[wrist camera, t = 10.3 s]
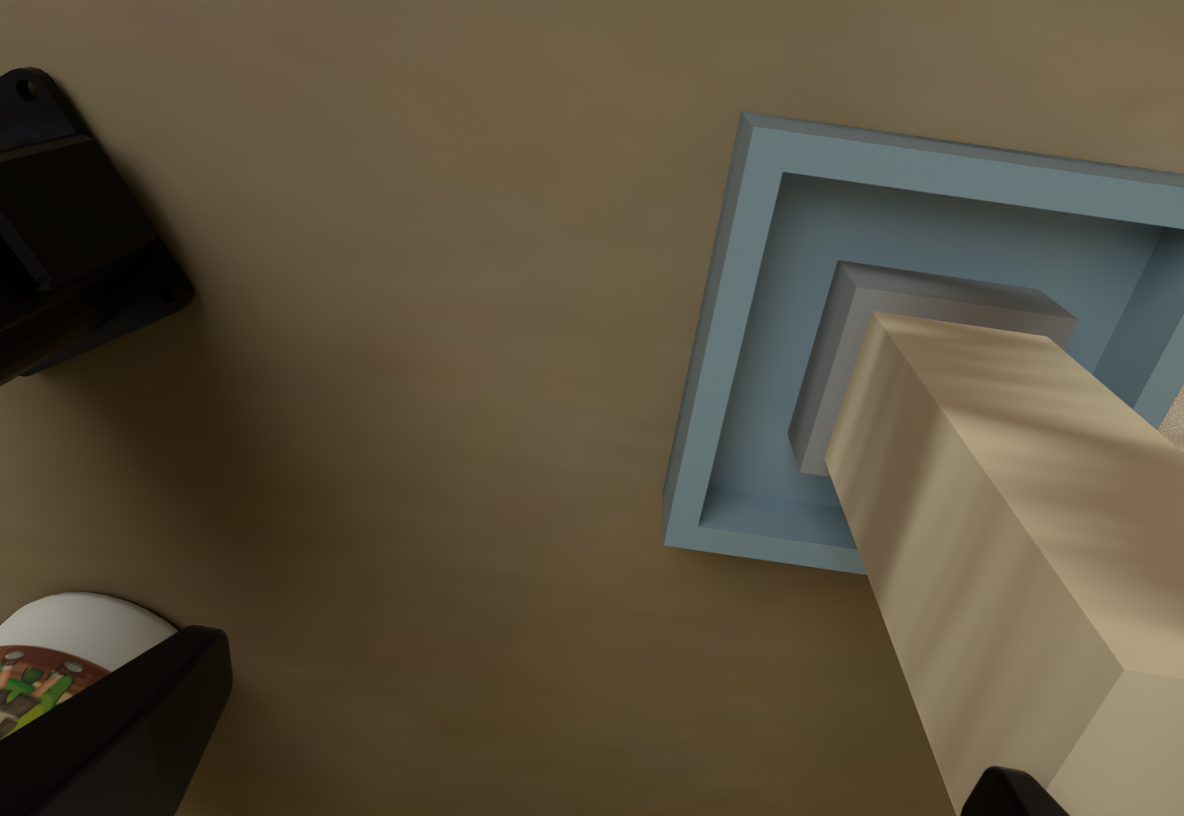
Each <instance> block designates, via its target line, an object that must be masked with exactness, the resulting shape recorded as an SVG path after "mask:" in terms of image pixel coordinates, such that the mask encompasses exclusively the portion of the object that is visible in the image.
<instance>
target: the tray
mask: <svg viewBox="0 0 1184 816" xmlns="http://www.w3.org/2000/svg"><path fill="white" fill-rule="evenodd" d="M838 260H841V261H848V262H855V263H862V264H869V265H876V266H882V267H889V268H896V269H903V270H910V271H917V272H923V273H930V274H937V275H944V276H951V277H957V278H964V279H971V280H978V281H985V282H992V283H998V284H1005V285H1012V286H1019V287H1026V288H1033V289H1039V290H1040V291H1042V292H1043V293H1044V294H1046V295H1047V296H1048V297H1050V298H1051V299H1052V300H1054V301H1055V302H1056V303H1058V304H1059V305H1060V306H1062V307H1063V308H1064V309H1066V310H1067V311H1068V312H1070V313H1071V314H1072V315H1074V316H1075V317H1076V318H1078V319H1079V320H1078V322H1077V324H1076V326H1075V328H1074V331H1073V333H1072V335H1071V337H1070V339H1069V341H1068V343H1067V345H1066V348H1065V350H1064V351H1065V352H1066V353H1067V354H1068V355H1069V356H1071V357H1072V358H1073V359H1074V360H1075V361H1076V362H1078V363H1079V364H1080V365H1081V366H1082V367H1083V368H1085V369H1086V370H1087V371H1088V372H1089V373H1090V374H1092V375H1093V376H1094V377H1095V378H1096V379H1098V380H1099V381H1100V382H1101V383H1102V384H1103V385H1105V386H1106V387H1107V388H1108V389H1109V390H1110V391H1112V392H1113V393H1114V394H1115V395H1116V396H1117V397H1119V398H1120V399H1121V400H1122V401H1123V402H1124V403H1126V404H1127V405H1128V406H1129V407H1130V408H1131V409H1133V410H1134V411H1135V412H1136V413H1137V414H1138V415H1140V416H1141V417H1142V418H1143V419H1144V420H1145V421H1147V422H1148V423H1149V424H1150V425H1151V426H1153V427H1154V428H1155V429H1156V430H1158V428H1159V427H1160V425H1161V423H1162V421H1163V419H1164V418H1165V416H1166V414H1167V412H1168V410H1169V409H1170V407H1171V405H1172V403H1173V401H1174V400H1175V398H1176V396H1177V394H1178V393H1179V391H1180V389H1181V387H1182V385H1183V384H1184V174H1178V173H1171V172H1164V171H1157V170H1150V169H1143V168H1136V167H1129V166H1122V165H1115V164H1108V163H1101V162H1094V161H1087V160H1080V159H1073V158H1066V157H1059V156H1052V155H1045V154H1038V153H1031V152H1024V151H1017V150H1010V149H1003V148H996V147H989V146H982V145H975V144H968V143H961V142H954V141H947V140H940V139H933V138H926V137H919V136H912V135H905V134H898V133H891V132H884V131H877V130H870V129H863V128H856V127H849V126H842V125H835V124H828V123H821V122H814V121H807V120H800V119H793V118H786V117H779V116H772V115H765V114H758V113H751V112H744V111H741V116H740V121H739V126H738V131H737V135H736V140H735V145H734V150H733V155H732V160H731V165H730V169H729V174H728V179H727V184H726V189H725V194H724V199H723V203H722V208H721V213H720V218H719V223H718V228H717V233H716V237H715V242H714V247H713V252H712V257H711V262H710V267H709V271H708V276H707V281H706V286H705V291H704V296H703V301H702V306H701V310H700V315H699V320H698V325H697V330H696V335H695V340H694V344H693V349H692V354H691V359H690V364H689V369H688V374H687V378H686V383H685V388H684V393H683V398H682V403H681V408H680V412H679V417H678V422H677V427H676V432H675V437H674V442H673V446H672V451H671V456H670V461H669V466H668V471H667V476H666V480H665V485H664V490H663V536H664V546H671V547H677V548H684V549H691V550H698V551H705V552H712V553H719V554H726V555H732V556H739V557H746V558H753V559H760V560H767V561H774V562H781V563H787V564H794V565H801V566H808V567H815V568H822V569H829V570H836V571H843V572H849V573H856V574H863V575H867V573H866V571H865V568H864V565H863V562H862V560H861V557H860V554H859V552H858V549H857V546H856V544H855V541H854V538H853V535H852V533H851V530H850V527H849V525H848V522H847V519H846V517H845V514H844V511H843V508H842V506H841V503H840V500H839V498H838V495H837V492H836V490H835V487H834V484H833V481H832V479H831V477H827V476H820V475H813V474H807V473H800V472H799V470H798V466H797V463H796V460H795V457H794V453H793V450H792V447H791V444H790V440H789V437H788V434H787V432H788V429H789V426H790V422H791V419H792V415H793V412H794V408H795V405H796V402H797V398H798V395H799V391H800V388H801V384H802V381H803V378H804V374H805V371H806V367H807V364H808V360H809V357H810V354H811V350H812V347H813V343H814V340H815V336H816V333H817V330H818V326H819V323H820V319H821V316H822V312H823V309H824V306H825V302H826V299H827V295H828V292H829V288H830V285H831V282H832V278H833V275H834V271H835V268H836V264H837V261H838Z"/></svg>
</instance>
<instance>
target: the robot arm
mask: <svg viewBox="0 0 1184 816" xmlns="http://www.w3.org/2000/svg"><path fill="white" fill-rule="evenodd" d="M28 82H31V83H32V84H33V85H34V86H35V89H36V91H37V99H36V98H34V97H33V96H32V95H31V93H30V91H29V89H28ZM167 286H170V287H172V288H173V289H174V290H175V291H176V293H177V298H175V297H173V296H172V295H171V294H170V293H169V292H168V289H167ZM193 298H194V289H193V287H192V285H191V283H190V281H189V280H188V278H187V277H186V275H185V274H184V272H183V271H182V269H181V268H180V266H179V265H178V264H177V262H176V261H175V259H174V258H173V256H172V255H171V253H170V252H169V250H168V249H167V247H166V246H165V244H164V243H163V241H162V240H161V238H160V237H159V235H158V234H157V233H156V231H155V228H154V226H153V225H152V223H151V222H150V220H149V219H148V217H147V216H146V215H145V213H144V212H143V210H142V209H141V207H140V206H139V204H138V203H137V201H136V200H135V198H134V197H133V195H132V194H131V192H130V191H129V189H128V188H127V186H126V185H125V183H124V182H123V181H122V179H121V178H120V176H119V175H118V173H117V172H116V170H115V169H114V167H113V166H112V164H111V163H110V161H109V160H108V158H107V157H106V155H105V154H104V152H103V151H102V149H101V148H100V147H99V145H98V144H97V142H96V141H94V140H93V138H92V137H91V135H90V134H89V132H88V131H87V129H86V128H85V126H84V125H83V123H82V122H81V120H80V119H79V117H78V116H77V114H76V113H75V111H74V110H73V109H72V107H71V106H70V104H69V103H68V101H67V100H66V98H65V97H64V95H63V94H62V92H61V91H60V89H59V88H58V86H57V85H56V83H55V82H54V81H53V79H52V78H51V77H50V76H49V75H48V74H47V73H45V72H44V71H42V70H41V69H38V68H34V67H26V68H18V69H14V70H11V71H9V72H8V73H6V74H4V75H2V76H1V77H0V386H2V385H4V384H5V383H7V382H9V381H10V380H12V379H14V378H15V377H17V376H24V377H25V376H30V375H32V374H35V373H37V372H39V371H42V370H44V369H46V368H49V367H51V366H53V365H55V364H58V363H60V362H62V361H65V360H67V359H69V358H72V357H74V356H76V355H78V354H81V353H83V352H85V351H88V350H90V349H92V348H95V347H97V346H99V345H101V344H104V343H106V342H108V341H111V340H113V339H115V338H118V337H120V336H122V335H124V334H127V333H129V332H131V331H134V330H136V329H138V328H141V327H143V326H145V325H147V324H150V323H152V322H154V321H157V320H159V319H161V318H164V317H166V316H168V315H170V314H173V313H175V312H177V311H180V310H181V309H183V308H184V307H186V306H187V305H189V304H190V303H191V302H192V301H193ZM232 683H233V674H232V666H231V658H230V650H229V641H228V637H227V635H226V633H225V632H224V631H223V630H220V629H215V628H210V627H204V626H198V625H191V626H188V627H185V628H183V629H181V630H180V631H178V632H176V633H175V634H173V635H171V636H170V637H168V638H166V639H165V640H163V641H162V642H160V643H158V644H157V645H155V646H153V647H152V648H150V649H148V650H147V651H145V652H144V653H142V654H140V655H139V656H137V657H135V658H134V659H132V660H130V661H129V662H127V663H126V664H124V665H122V666H121V667H119V668H117V669H116V670H114V671H113V672H111V673H109V674H108V675H106V676H104V677H103V678H101V679H99V680H98V681H96V682H95V683H93V684H91V685H90V686H88V687H86V688H85V689H83V690H81V691H80V692H78V693H77V694H75V695H73V696H72V697H70V698H68V699H67V700H65V701H63V702H62V703H60V704H59V705H57V706H55V707H54V708H52V709H50V710H49V711H47V712H46V713H44V714H42V715H41V716H39V717H37V718H36V719H34V720H32V721H31V722H29V723H28V724H26V725H24V726H23V727H21V728H19V729H18V730H16V731H14V732H13V733H11V734H10V735H8V736H6V737H5V738H3V739H1V740H0V816H175V814H176V812H177V810H178V808H179V806H180V803H181V801H182V799H183V797H184V795H185V793H186V790H187V788H188V786H189V784H190V782H191V779H192V777H193V775H194V773H195V771H196V769H197V766H198V764H199V762H200V760H201V758H202V755H203V753H204V751H205V749H206V747H207V745H208V742H209V740H210V738H211V736H212V734H213V731H214V729H215V727H216V725H217V723H218V721H219V718H220V716H221V714H222V712H223V710H224V707H225V705H226V703H227V701H228V698H229V696H230V693H231V689H232ZM960 816H1070V815H1069V814H1068V813H1067V812H1066V811H1065V810H1064V809H1063V808H1062V807H1061V805H1060V804H1059V803H1058V802H1057V801H1056V800H1055V799H1054V798H1053V797H1052V796H1051V795H1050V794H1049V793H1048V792H1047V791H1046V790H1045V789H1044V788H1043V787H1042V786H1041V784H1040V783H1039V782H1038V781H1037V780H1036V779H1035V778H1034V777H1032V776H1031V775H1030V774H1028V773H1027V772H1025V771H1022V770H1018V769H1012V768H1006V767H1001V766H990V767H988V768H987V769H985V771H984V772H983V774H982V775H981V777H980V779H979V780H978V782H977V783H976V785H975V787H974V788H973V790H972V792H971V793H970V795H969V797H968V798H967V800H966V802H965V803H964V805H963V807H962V811H961V815H960Z"/></svg>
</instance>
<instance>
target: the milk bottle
mask: <svg viewBox="0 0 1184 816" xmlns="http://www.w3.org/2000/svg"><path fill="white" fill-rule="evenodd" d="M176 632H178V630H177V629H175V628H174V627H173V626H171V625H170V624H169V623H168V622H166V621H165V620H164V619H162V618H160V617H158V616H157V615H155V614H153V613H152V612H150V611H148V610H147V609H144V608H142V607H140V606H137V605H135V604H133V603H130V602H128V601H126V600H122V599H118V598H115V597H111V596H108V595H103V594H95V593H89V592H65V593H60V594H54V595H49V596H47V597H44V598H42V599H40V600H37V601H34V602H31V603H29V604H27V605H25V606H23V607H22V608H20V609H19V610H17V611H16V612H15V613H14V614H13V615H12V616H11V617H10V618H8V619H7V620H6V621H5V622H4V623H3V624H2V625H1V626H0V740H1V739H3V738H5V737H6V736H8V735H10V734H11V733H13V732H14V731H16V730H18V729H19V728H21V727H23V726H24V725H26V724H28V723H29V722H31V721H32V720H34V719H36V718H37V717H39V716H41V715H42V714H44V713H46V712H47V711H49V710H50V709H52V708H54V707H55V706H57V705H59V704H60V703H62V702H63V701H65V700H67V699H68V698H70V697H72V696H73V695H75V694H77V693H78V692H80V691H81V690H83V689H85V688H86V687H88V686H90V685H91V684H93V683H95V682H96V681H98V680H99V679H101V678H103V677H104V676H106V675H108V674H109V673H111V672H113V671H114V670H116V669H117V668H119V667H121V666H122V665H124V664H126V663H127V662H129V661H130V660H132V659H134V658H135V657H137V656H139V655H140V654H142V653H144V652H145V651H147V650H148V649H150V648H152V647H153V646H155V645H157V644H158V643H160V642H162V641H163V640H165V639H166V638H168V637H170V636H171V635H173V634H175V633H176Z"/></svg>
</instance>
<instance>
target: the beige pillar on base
mask: <svg viewBox="0 0 1184 816" xmlns="http://www.w3.org/2000/svg"><path fill="white" fill-rule="evenodd" d="M1078 320H1079V319H1078V318H1076V317H1075V316H1074V315H1072V314H1071V313H1070V312H1068V311H1067V310H1066V309H1064V308H1063V307H1062V306H1060V305H1059V304H1058V303H1056V302H1055V301H1054V300H1052V299H1051V298H1050V297H1048V296H1047V295H1046V294H1044V293H1043V292H1042V291H1040V290H1039V289H1033V288H1026V287H1019V286H1012V285H1005V284H998V283H992V282H985V281H978V280H971V279H964V278H957V277H951V276H944V275H937V274H930V273H923V272H917V271H910V270H903V269H896V268H889V267H882V266H876V265H869V264H862V263H855V262H848V261H841V260H838V261H837V264H836V268H835V271H834V275H833V278H832V282H831V285H830V288H829V292H828V295H827V299H826V302H825V306H824V309H823V312H822V316H821V319H820V323H819V326H818V330H817V333H816V336H815V340H814V343H813V347H812V350H811V354H810V357H809V360H808V364H807V367H806V371H805V374H804V378H803V381H802V384H801V388H800V391H799V395H798V398H797V402H796V405H795V408H794V412H793V415H792V419H791V422H790V426H789V429H788V432H787V434H788V437H789V440H790V444H791V447H792V450H793V453H794V457H795V460H796V463H797V466H798V470H799V472H800V473H807V474H813V475H820V476H827V477H831V479H832V481H833V484H834V487H835V490H836V492H837V495H838V498H839V500H840V503H841V506H842V508H843V511H844V514H845V517H846V519H847V522H848V525H849V527H850V530H851V533H852V535H853V538H854V541H855V544H856V546H857V549H858V552H859V554H860V557H861V560H862V562H863V565H864V568H865V571H866V573H867V576H868V579H869V581H870V584H871V587H872V589H873V592H874V595H875V598H876V600H877V603H878V606H879V608H880V611H881V614H882V616H883V619H884V622H885V625H886V627H887V630H888V633H889V635H890V638H891V641H892V643H893V646H894V649H895V652H896V654H897V657H898V660H899V662H900V665H901V668H902V670H903V673H904V676H905V678H906V681H907V684H908V687H909V689H910V692H911V695H912V697H913V700H914V703H915V705H916V708H917V711H918V714H919V716H920V719H921V722H922V724H923V727H924V730H925V732H926V735H927V738H928V741H929V743H930V746H931V749H932V751H933V754H934V757H935V759H936V762H937V765H938V768H939V770H940V773H941V776H942V778H943V781H944V784H945V786H946V789H947V792H948V795H949V797H950V800H951V803H952V805H953V808H954V811H955V813H956V816H960V815H961V811H962V807H963V805H964V803H965V802H966V800H967V798H968V797H969V795H970V793H971V792H972V790H973V788H974V787H975V785H976V783H977V782H978V780H979V779H980V777H981V775H982V774H983V772H984V771H985V769H987V768H988V767H990V766H1001V767H1006V768H1012V769H1018V770H1022V771H1025V772H1027V773H1028V774H1030V775H1031V776H1032V777H1034V778H1035V779H1036V780H1037V781H1038V782H1039V783H1040V784H1041V786H1042V787H1043V788H1044V789H1045V790H1046V791H1047V792H1048V793H1049V794H1050V795H1051V796H1052V797H1053V798H1054V799H1055V800H1056V801H1057V802H1058V803H1059V804H1060V805H1061V807H1062V808H1063V809H1064V810H1065V811H1066V812H1067V813H1068V814H1069V815H1070V816H1184V453H1183V452H1182V451H1181V450H1179V449H1178V448H1177V447H1176V446H1175V445H1174V444H1172V443H1171V442H1170V441H1169V440H1168V439H1167V438H1165V437H1164V436H1163V435H1162V434H1161V433H1160V432H1158V431H1157V430H1156V429H1155V428H1154V427H1153V426H1151V425H1150V424H1149V423H1148V422H1147V421H1145V420H1144V419H1143V418H1142V417H1141V416H1140V415H1138V414H1137V413H1136V412H1135V411H1134V410H1133V409H1131V408H1130V407H1129V406H1128V405H1127V404H1126V403H1124V402H1123V401H1122V400H1121V399H1120V398H1119V397H1117V396H1116V395H1115V394H1114V393H1113V392H1112V391H1110V390H1109V389H1108V388H1107V387H1106V386H1105V385H1103V384H1102V383H1101V382H1100V381H1099V380H1098V379H1096V378H1095V377H1094V376H1093V375H1092V374H1090V373H1089V372H1088V371H1087V370H1086V369H1085V368H1083V367H1082V366H1081V365H1080V364H1079V363H1078V362H1076V361H1075V360H1074V359H1073V358H1072V357H1071V356H1069V355H1068V354H1067V353H1066V352H1065V351H1064V350H1065V348H1066V345H1067V343H1068V341H1069V339H1070V337H1071V335H1072V333H1073V331H1074V328H1075V326H1076V324H1077V322H1078Z"/></svg>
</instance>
